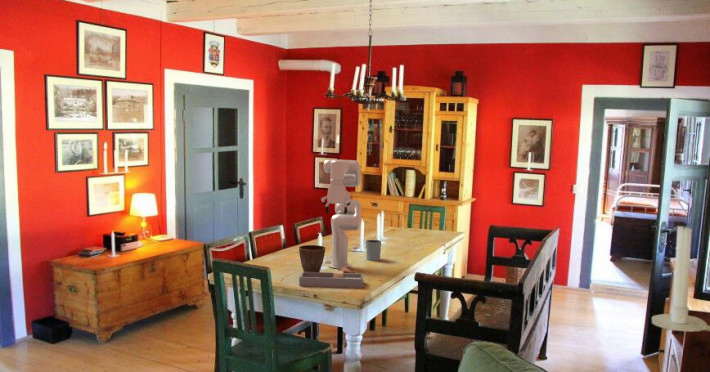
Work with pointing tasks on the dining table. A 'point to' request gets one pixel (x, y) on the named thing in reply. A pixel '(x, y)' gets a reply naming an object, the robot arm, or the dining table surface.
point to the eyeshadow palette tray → (330, 280)
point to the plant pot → (311, 257)
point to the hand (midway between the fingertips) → (336, 214)
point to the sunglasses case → (346, 270)
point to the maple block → (338, 274)
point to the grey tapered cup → (373, 250)
